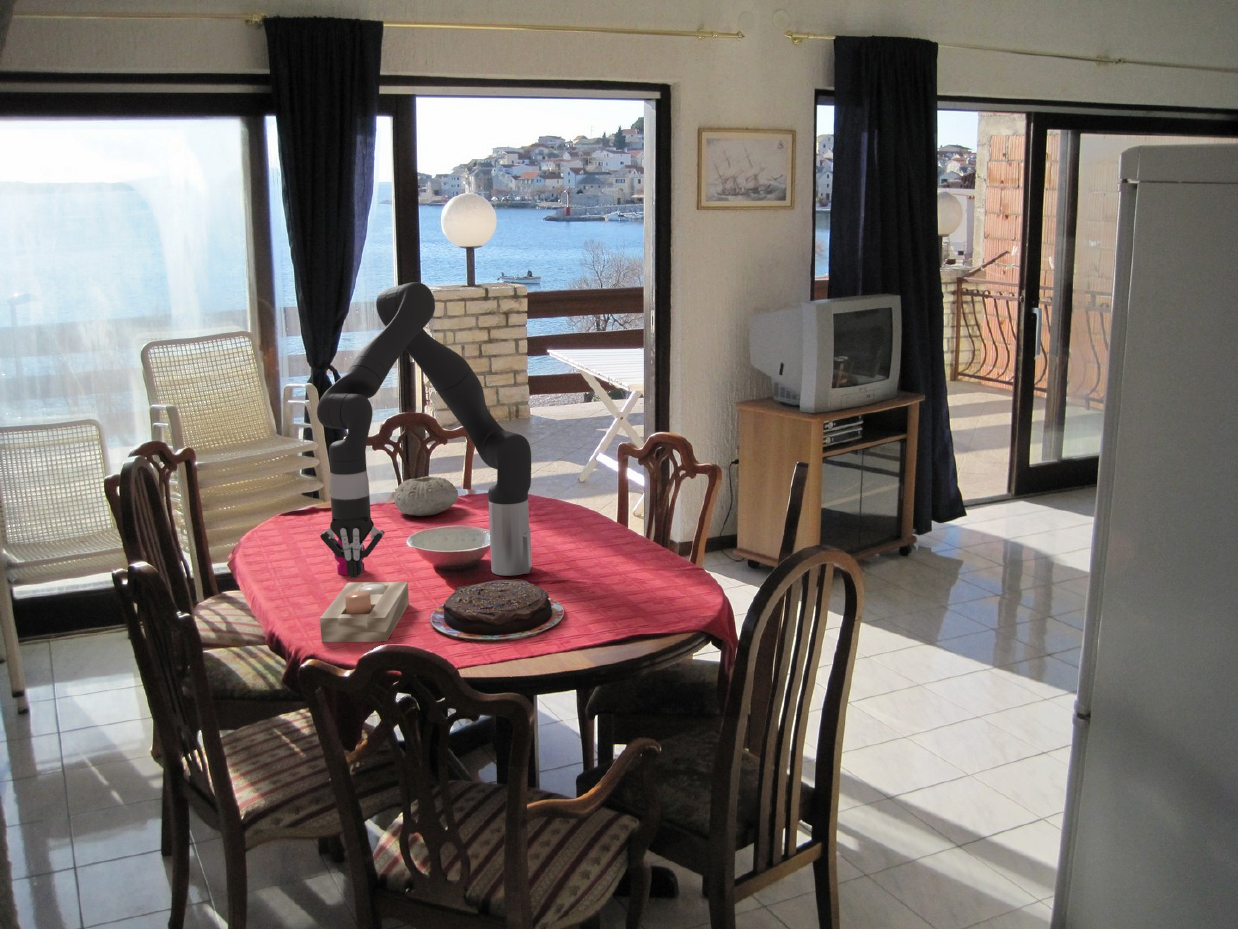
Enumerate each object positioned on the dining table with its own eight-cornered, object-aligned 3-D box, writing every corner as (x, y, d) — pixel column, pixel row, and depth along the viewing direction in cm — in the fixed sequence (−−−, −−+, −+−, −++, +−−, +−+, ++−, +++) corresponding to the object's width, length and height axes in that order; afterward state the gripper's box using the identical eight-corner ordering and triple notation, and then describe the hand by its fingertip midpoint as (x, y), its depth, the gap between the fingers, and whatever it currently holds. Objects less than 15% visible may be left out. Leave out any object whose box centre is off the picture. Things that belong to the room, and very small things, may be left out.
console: (409, 604, 254) (407, 582, 253) (386, 641, 232) (384, 617, 231) (349, 604, 254) (348, 582, 253) (321, 642, 233) (319, 618, 232)
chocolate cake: (451, 654, 227) (450, 622, 225) (415, 609, 251) (413, 580, 250) (585, 630, 238) (584, 600, 236) (537, 590, 262) (536, 562, 261)
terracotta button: (373, 607, 239) (372, 591, 238) (367, 615, 234) (366, 599, 233) (349, 607, 239) (348, 591, 238) (343, 615, 234) (342, 599, 233)
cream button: (387, 599, 251) (386, 584, 250) (382, 607, 246) (381, 591, 245) (364, 599, 251) (363, 584, 251) (358, 607, 246) (357, 591, 246)
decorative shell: (397, 506, 336) (395, 472, 334) (459, 503, 338) (458, 469, 336) (392, 522, 319) (390, 487, 316) (458, 519, 321) (456, 484, 318)
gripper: (387, 488, 235) (392, 571, 238) (322, 488, 235) (327, 571, 239) (378, 497, 227) (383, 582, 231) (311, 497, 228) (317, 582, 231)
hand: (355, 576), depth 235 cm, fingers closed
